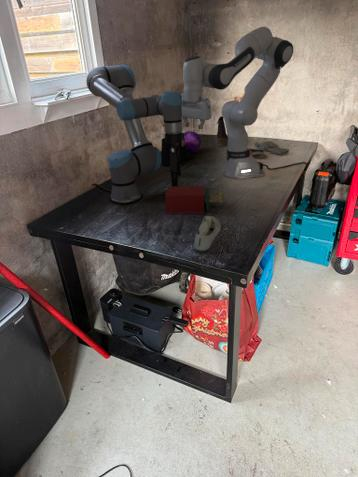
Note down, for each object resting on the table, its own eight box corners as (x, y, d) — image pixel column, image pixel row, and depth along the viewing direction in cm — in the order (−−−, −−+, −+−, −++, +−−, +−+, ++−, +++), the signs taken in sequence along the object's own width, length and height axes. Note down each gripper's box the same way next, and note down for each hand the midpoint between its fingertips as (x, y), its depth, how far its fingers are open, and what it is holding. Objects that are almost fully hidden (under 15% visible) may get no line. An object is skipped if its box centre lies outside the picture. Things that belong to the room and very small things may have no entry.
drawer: (221, 201, 156) (222, 187, 152) (222, 210, 147) (222, 196, 144) (176, 202, 158) (175, 188, 155) (173, 211, 150) (173, 196, 146)
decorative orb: (204, 151, 235) (204, 129, 228) (194, 156, 225) (193, 134, 217) (186, 149, 243) (186, 128, 235) (175, 154, 232) (174, 132, 224)
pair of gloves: (253, 161, 209) (253, 153, 207) (231, 152, 230) (232, 144, 227) (291, 153, 219) (292, 145, 216) (267, 145, 240) (268, 138, 237)
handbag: (171, 167, 207) (169, 126, 195) (160, 165, 212) (156, 125, 199) (188, 158, 222) (187, 119, 209) (177, 157, 226) (175, 119, 214)
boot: (229, 139, 260) (230, 113, 250) (227, 147, 240) (228, 119, 230) (218, 139, 262) (218, 113, 252) (215, 147, 242) (215, 119, 232)
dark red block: (204, 203, 158) (204, 185, 153) (204, 213, 148) (203, 194, 144) (169, 203, 159) (168, 186, 155) (166, 213, 150) (165, 195, 145)
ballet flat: (224, 223, 138) (224, 206, 134) (211, 254, 118) (211, 235, 114) (205, 222, 140) (204, 205, 136) (189, 252, 120) (188, 233, 116)
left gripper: (168, 126, 148) (171, 171, 158) (160, 139, 126) (164, 191, 137) (184, 125, 147) (186, 171, 158) (180, 139, 126) (182, 191, 136)
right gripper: (214, 97, 146) (214, 129, 153) (183, 94, 160) (184, 124, 166) (205, 99, 143) (204, 131, 149) (173, 96, 156) (174, 126, 163)
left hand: (176, 180), depth 147 cm, fingers open, 13 cm apart
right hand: (193, 127), depth 158 cm, fingers open, 8 cm apart
